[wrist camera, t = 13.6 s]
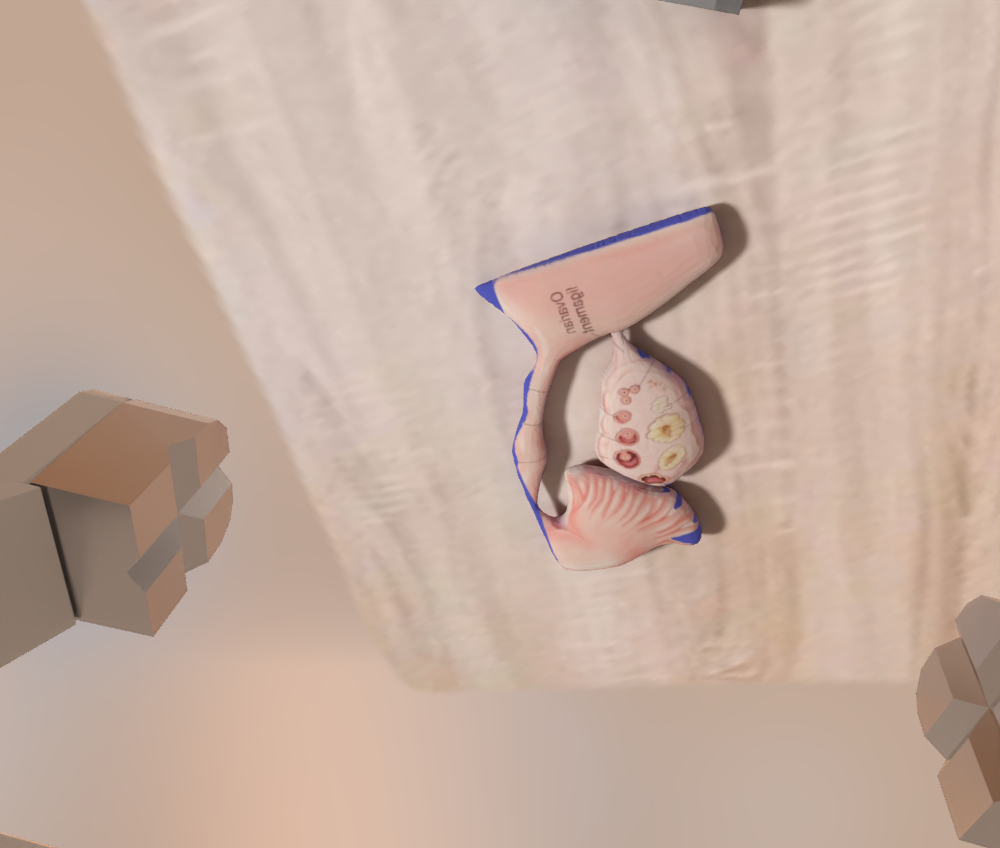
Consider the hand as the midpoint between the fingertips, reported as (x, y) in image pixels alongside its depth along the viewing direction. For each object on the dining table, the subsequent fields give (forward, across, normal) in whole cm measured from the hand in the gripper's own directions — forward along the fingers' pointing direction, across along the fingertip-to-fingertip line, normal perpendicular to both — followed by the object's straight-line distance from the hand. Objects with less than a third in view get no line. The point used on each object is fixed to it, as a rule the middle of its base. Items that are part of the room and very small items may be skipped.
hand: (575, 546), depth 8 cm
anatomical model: (+32, -3, +17) cm, 36 cm away
